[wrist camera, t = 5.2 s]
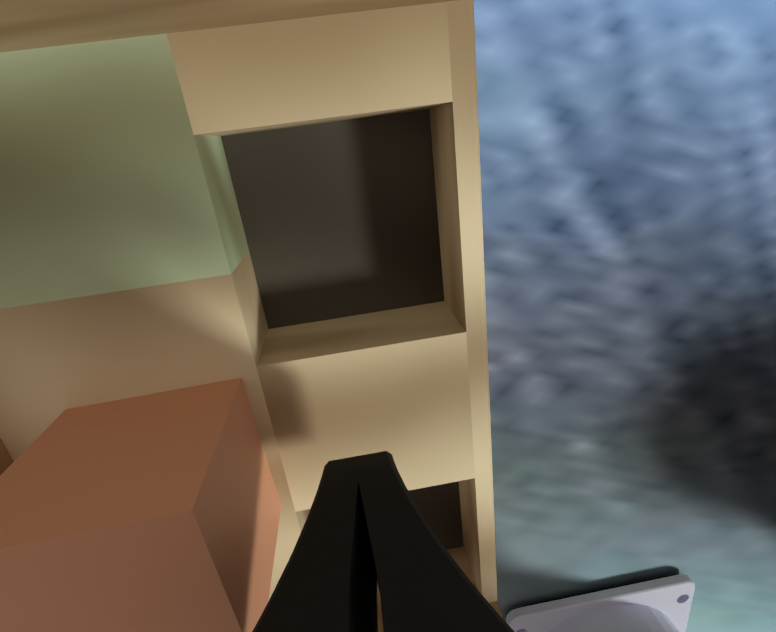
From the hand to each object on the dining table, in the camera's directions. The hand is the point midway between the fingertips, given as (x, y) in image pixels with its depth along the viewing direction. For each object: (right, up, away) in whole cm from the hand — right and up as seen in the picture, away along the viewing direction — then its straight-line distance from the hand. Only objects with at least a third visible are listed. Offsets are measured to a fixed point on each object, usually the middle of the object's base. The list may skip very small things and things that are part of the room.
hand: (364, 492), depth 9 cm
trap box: (-3, +2, +4) cm, 5 cm away
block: (-5, 0, +2) cm, 5 cm away
